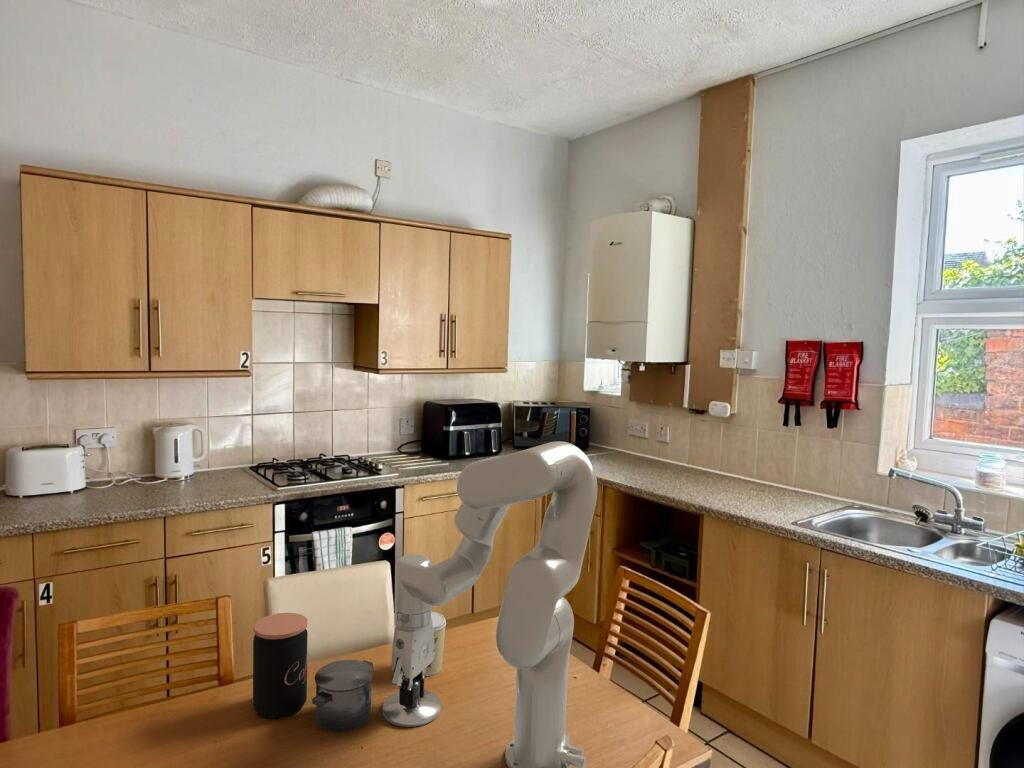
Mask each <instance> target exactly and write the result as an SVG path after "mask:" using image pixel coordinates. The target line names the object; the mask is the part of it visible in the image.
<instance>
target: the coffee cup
mask: <svg viewBox="0 0 1024 768" xmlns="http://www.w3.org/2000/svg"><path fill="white" fill-rule="evenodd" d="M431 617H432V622H433V629H434V660H433V661H432V662H431V663H430V664H429V665H428V666H427V667H426V669H425V670H426V675H425V677H426V678H427V677H431V676H435V675H437V674H438V673H440V672H441V669H442V666H443V658H444V657H443V656H444V647H445V636H446V626H447V620H446V618H445V616H444V615H443V614H442V613H440V612H436V611H431Z"/></svg>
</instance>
